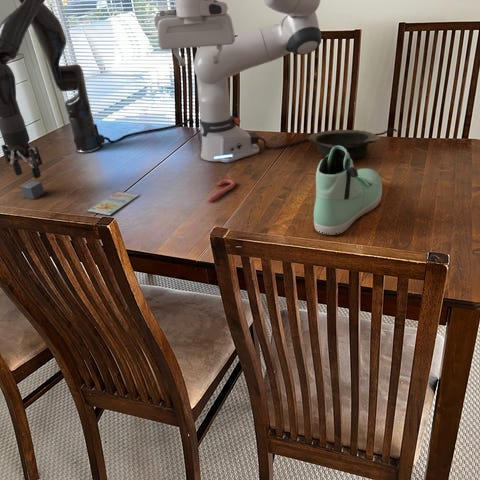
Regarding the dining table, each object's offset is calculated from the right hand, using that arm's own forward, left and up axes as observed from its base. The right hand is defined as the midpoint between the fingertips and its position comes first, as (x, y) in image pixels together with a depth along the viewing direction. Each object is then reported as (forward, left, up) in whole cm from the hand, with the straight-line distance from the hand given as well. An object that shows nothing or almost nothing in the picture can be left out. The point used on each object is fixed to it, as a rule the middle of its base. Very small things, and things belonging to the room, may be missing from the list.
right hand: (199, 64), depth 130 cm
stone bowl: (-53, -7, -41) cm, 67 cm away
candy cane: (-3, -3, -41) cm, 41 cm away
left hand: (+52, -35, -33) cm, 71 cm away
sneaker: (-31, +27, -41) cm, 58 cm away
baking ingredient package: (+29, -14, -41) cm, 52 cm away
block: (+52, -35, -41) cm, 74 cm away
